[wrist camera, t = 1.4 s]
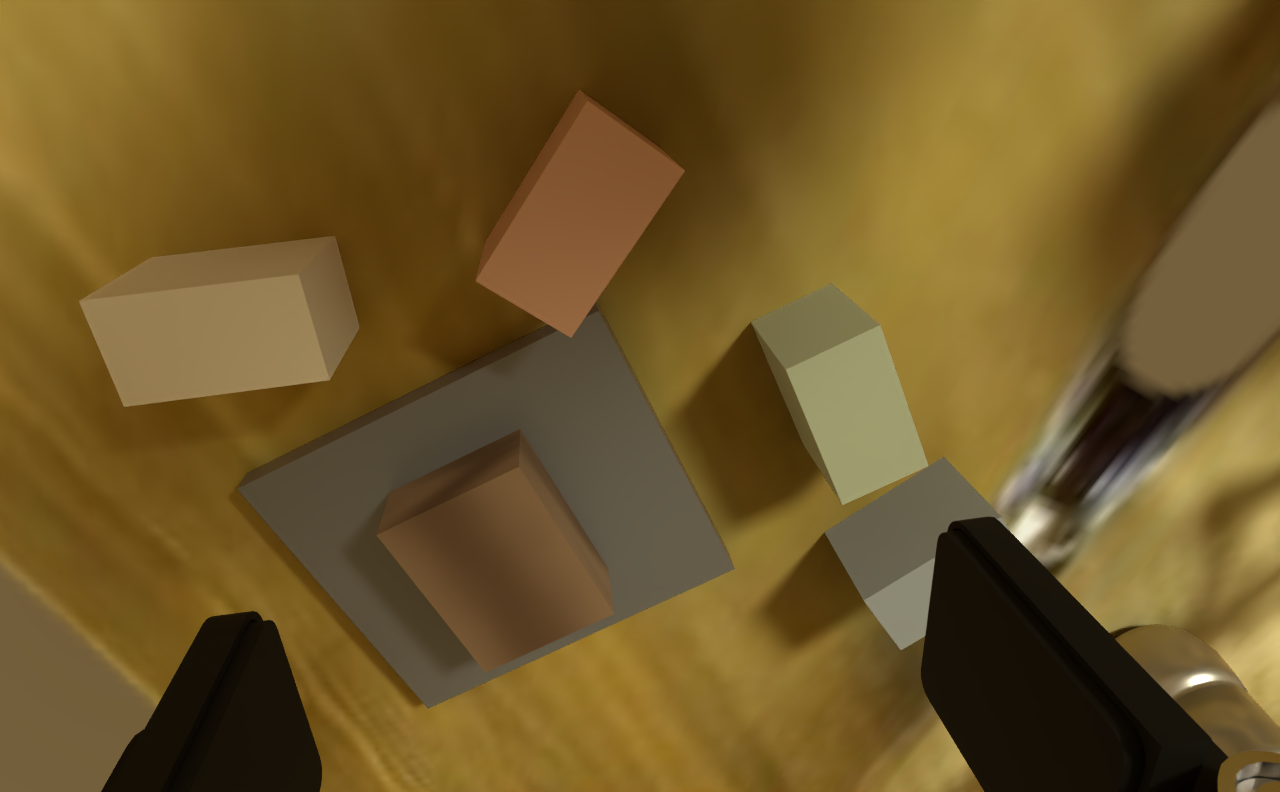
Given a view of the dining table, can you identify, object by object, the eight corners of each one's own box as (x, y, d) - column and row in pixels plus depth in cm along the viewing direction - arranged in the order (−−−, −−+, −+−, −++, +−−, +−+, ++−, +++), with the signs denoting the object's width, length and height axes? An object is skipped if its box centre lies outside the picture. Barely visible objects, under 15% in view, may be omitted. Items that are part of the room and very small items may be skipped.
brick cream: (335, 235, 28) (298, 274, 24) (360, 327, 30) (329, 380, 25) (151, 256, 28) (78, 300, 23) (186, 349, 29) (123, 406, 25)
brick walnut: (520, 428, 31) (519, 466, 28) (607, 568, 35) (614, 613, 32) (389, 492, 32) (376, 535, 29) (489, 623, 35) (485, 672, 32)
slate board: (596, 300, 30) (598, 310, 29) (728, 552, 37) (734, 568, 36) (246, 473, 32) (236, 489, 31) (431, 689, 38) (427, 708, 37)
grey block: (943, 455, 36) (1001, 516, 31) (973, 506, 37) (1033, 571, 33) (823, 531, 37) (863, 600, 32) (858, 577, 38) (901, 650, 34)
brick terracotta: (578, 89, 27) (587, 100, 23) (661, 148, 28) (685, 170, 24) (484, 242, 29) (475, 281, 25) (565, 292, 30) (571, 338, 26)
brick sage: (750, 321, 32) (786, 369, 27) (830, 282, 32) (880, 325, 27) (802, 443, 35) (842, 505, 30) (876, 408, 34) (928, 465, 30)
